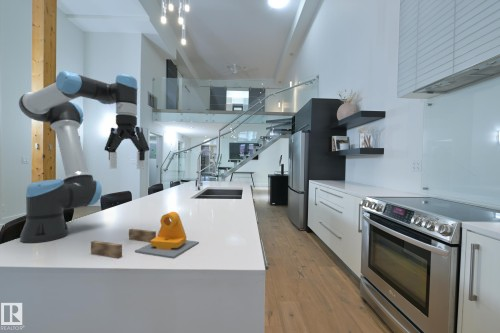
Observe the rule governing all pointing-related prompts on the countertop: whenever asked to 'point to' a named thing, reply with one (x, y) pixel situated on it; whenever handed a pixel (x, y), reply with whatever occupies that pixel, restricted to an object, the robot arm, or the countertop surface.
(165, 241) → the bracket
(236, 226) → the countertop surface
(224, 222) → the countertop surface
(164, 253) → the mat
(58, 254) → the countertop surface
